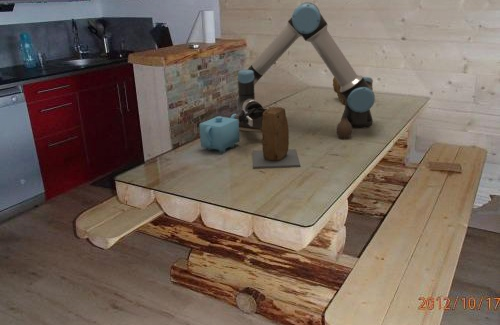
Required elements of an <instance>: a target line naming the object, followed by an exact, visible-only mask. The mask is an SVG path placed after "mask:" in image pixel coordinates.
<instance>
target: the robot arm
mask: <svg viewBox="0 0 500 325" xmlns="http://www.w3.org/2000/svg"><path fill="white" fill-rule="evenodd" d="M328 26H329V24H328V23H327V20H325V18H324V17H323V15H322V14H321V12H320V8H319V7H318V6H317V5H316V4H314V3H312V2H304V3H301V4H300V5H298V6H297V7H296V8H295V9H294V10H293V11H292V16H291V17H290V18H289V19H288V21H287V25H286V26H285V27H284V28H283V30H282V31H281V32H280V33H279V34H278V35H277V36H276V38H274V39H273V40H272V42H271V43H270V44H269V45H268V46H267V47H266V48H265V49H264V50H263V52H262V53H261V54H260V55H259V56H258V57H257V58H256V59H255V60H254V61H253V63H252V64H251V65H250V66H249V67H248V68H247V69H241V70H238V71H237V88H238V98H237V100H236V105H237V107H238V108H239V110H240V113H239V115H238V120H239V122H242V121H243V123H244V124H246V123H248V124H249V125H250V126H253V121H252V119H257V118H259V117H263V112H264V111H265V110H267V109H270V108H271V107H268V108H264V107H263V105H262V104H261V103H260V102H258V101H257V100H256V96H255V94H256V93H255V86H256V84H257V83H258V82H259V81H260V80H261V78H262V77H263V76H264V75H265V74H266V73H267V72H268V71H269V70H270V69H271V68H272V66H273V65H274V64H276V62H277V61H278V60H279V59H280V57H282V55H284V53H286V52H287V50H288V49H289V48H290V47H291V46H293V44H294V43H295V42H296V41H297V40H298V39H299V38H300V37H302V39H303V40H304V41H305V42H309V43H310V44H311V45H312V46H313V48H314V49H315V51H316V53H317V54H318V55H319V57H320V58H321V60H322V61H323V63H324V64H325V66H326V67H327V69H328V70H329V71H330V73H331V75H333V78H334V77H335V79H336V80H337V82H338V83H339V85H340V86H341V88H340V92H341V94H342V95H343V97H344V98H345V104H344V111H343V113H342V116H341V117H340V121H341V120H342V118H347V119H348V121H349V122H350V124H351V126H352V129H364V128H369V127H371V126H373V122H374V120H373V119H374V118H373V117H372V111H371V108H373V106H374V104H375V100H376V99H375V98H376V96H375V93H374V90H373V91H372V89H371V83H372V82H371V78H372V77H369V76H363V75H359V74H358V73H356V71H355V69H354V68H353V67H352V65H351V63H350V62H349V60H348V59H347V58H346V56H345V55H344V53H343V51H342V50H341V49H340V47H339V46H338V44H337V43H336V41H335V40H334V38H333V37H332V35H331V34H330V32H329V31H328ZM372 84H373V83H372Z"/></svg>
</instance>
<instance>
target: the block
mask: <svg viewBox="0 0 500 325" xmlns="http://www.w3.org/2000/svg"><path fill="white" fill-rule="evenodd" d="M266 109H267V110H265V111H264V112H263V121H262V133H261V142H262V145H261V147H262V150H263V157H264V158H265V159H268V160H271V161H277V160H281V159H283V158H284V157H285V156H286V154H287V152H288V149H289V144H290V142H289V141H290V140H289V139H290V138H289V137H290V136H289V135H290V130H289V121H288V118H287V115H286V109H285V108H284V107H280V106H277V107H276V106H272V107H270V109H268V108H266Z"/></svg>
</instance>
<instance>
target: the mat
mask: <svg viewBox="0 0 500 325" xmlns="http://www.w3.org/2000/svg"><path fill="white" fill-rule="evenodd" d="M252 166H253V167H252V169H254V170H255V169H277V168H278V169H279V168H280V169H281V168H283V169H284V168H300V167H301V163H300V158H299V155H298V151H297V149H296V148H288V152H287V154H286V156H285V157H284V158H283V159H281V160H277V161H271V160H268V159H265V158H264V157H263V149H257V150H252Z"/></svg>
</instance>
